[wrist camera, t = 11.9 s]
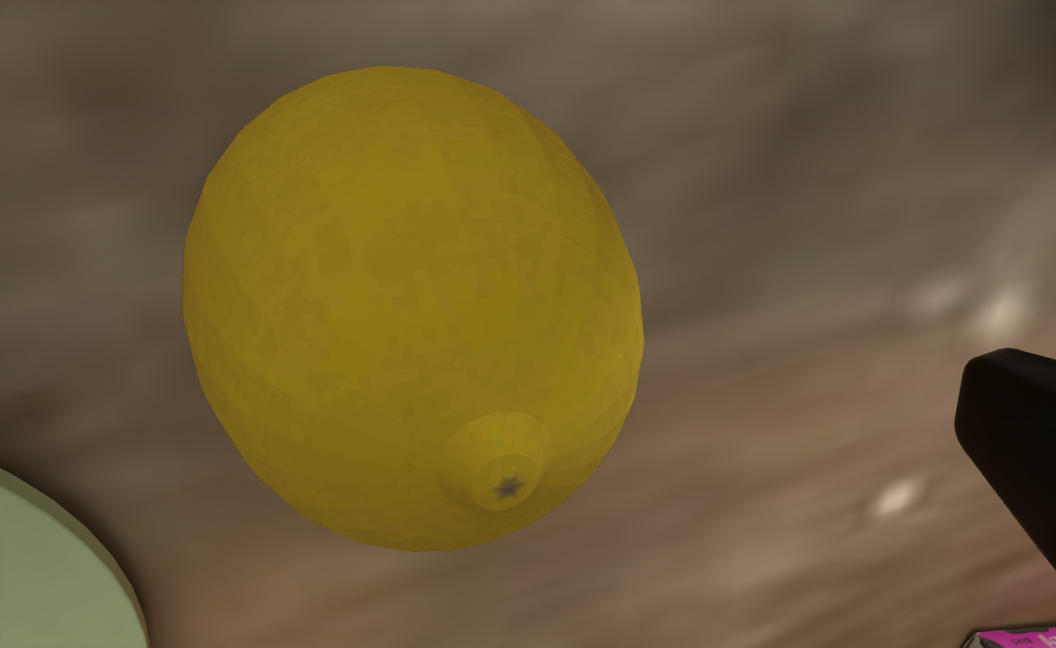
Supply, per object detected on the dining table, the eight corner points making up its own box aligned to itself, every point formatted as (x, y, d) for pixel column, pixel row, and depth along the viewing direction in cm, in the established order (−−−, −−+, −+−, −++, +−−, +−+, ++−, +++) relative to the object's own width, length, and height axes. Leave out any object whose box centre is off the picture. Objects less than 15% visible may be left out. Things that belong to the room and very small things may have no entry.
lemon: (213, 355, 16) (264, 757, 10) (134, 28, 13) (127, 288, 7) (517, 295, 17) (738, 606, 11) (506, -11, 15) (797, 171, 8)
